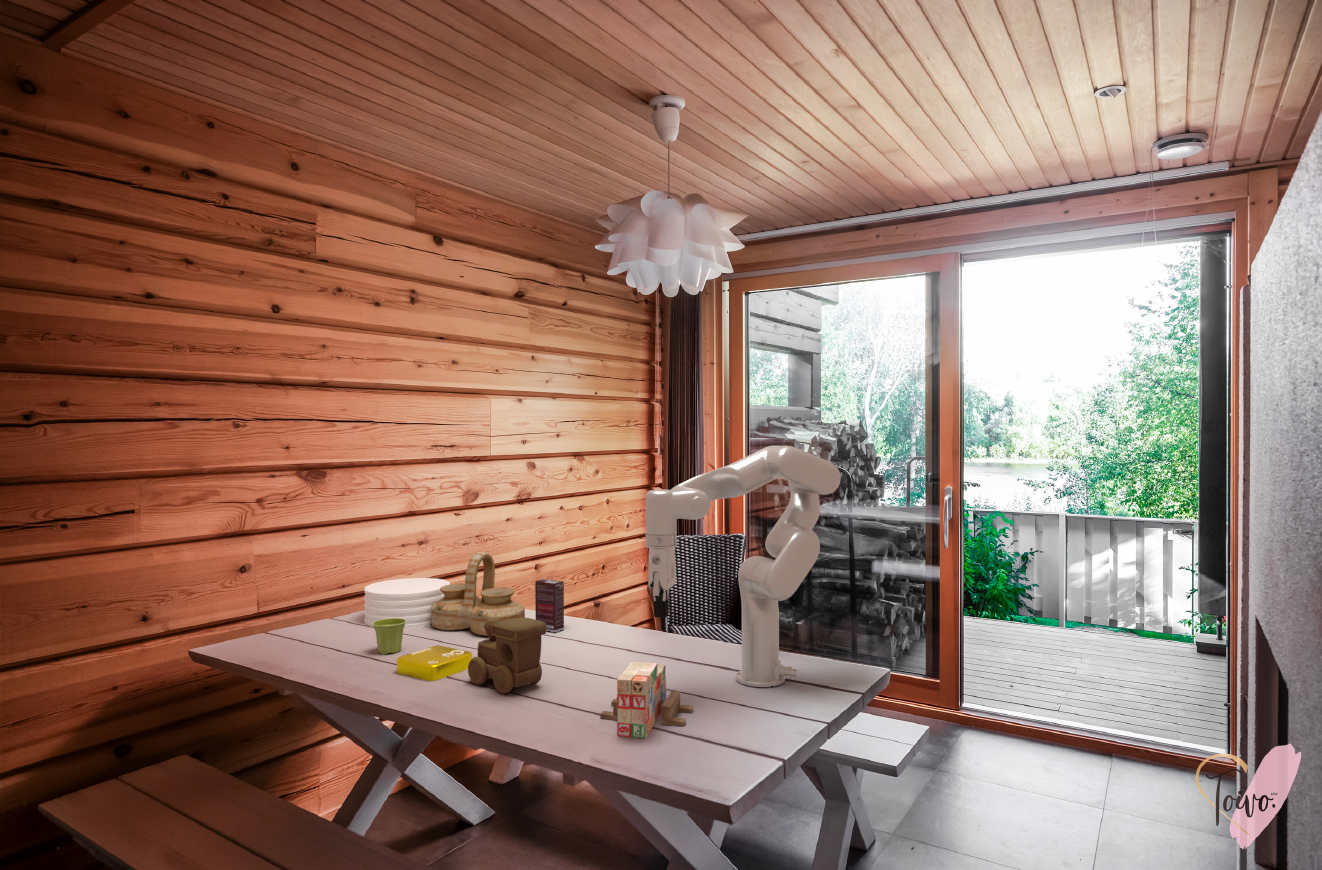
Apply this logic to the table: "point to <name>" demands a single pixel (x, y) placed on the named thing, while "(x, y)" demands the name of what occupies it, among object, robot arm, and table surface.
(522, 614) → the ceramic vessel
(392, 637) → the plant pot
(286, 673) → the table surface
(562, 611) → the supplement box
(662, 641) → the table surface
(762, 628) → the robot arm
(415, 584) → the plate stack
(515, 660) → the wooden toy train
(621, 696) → the stack of blocks
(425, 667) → the element tile
